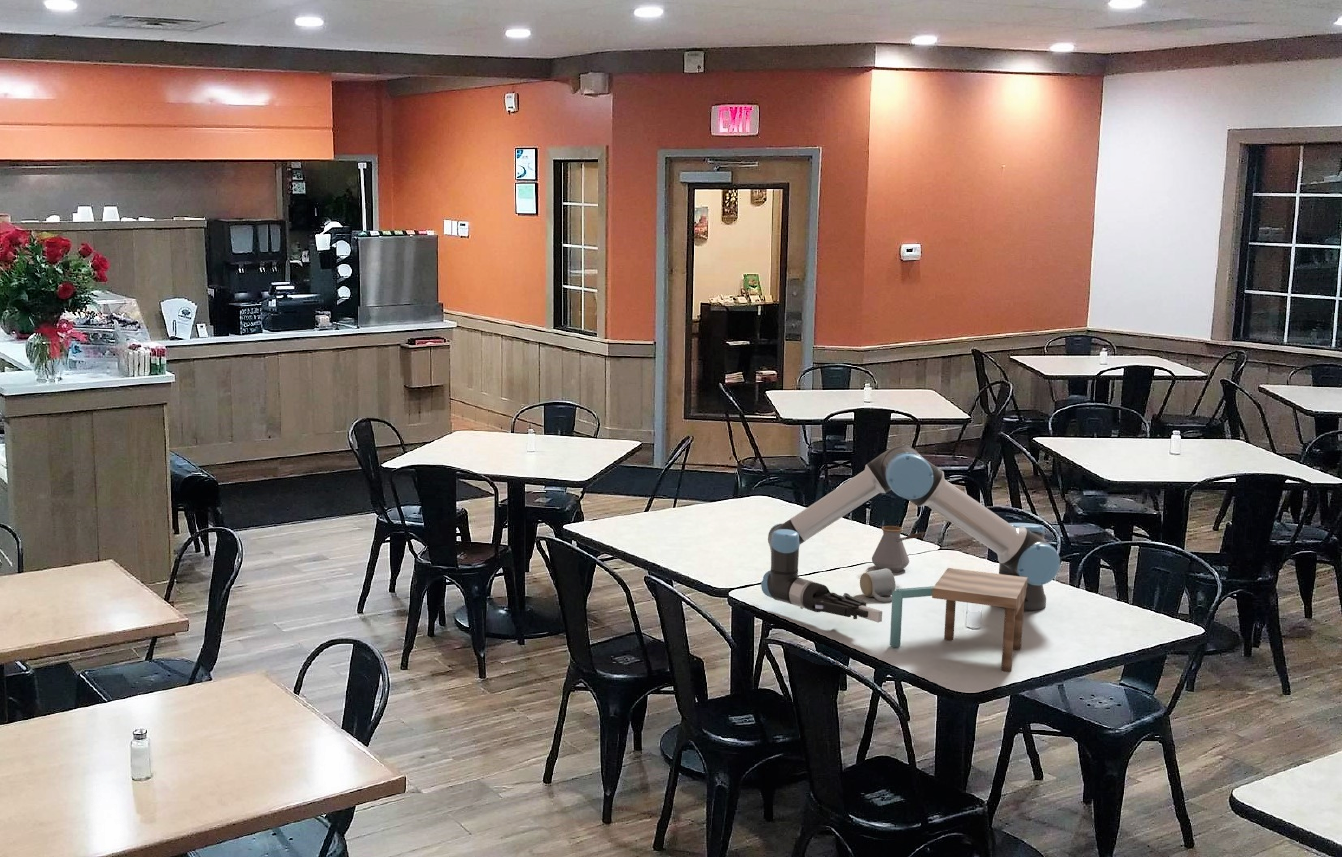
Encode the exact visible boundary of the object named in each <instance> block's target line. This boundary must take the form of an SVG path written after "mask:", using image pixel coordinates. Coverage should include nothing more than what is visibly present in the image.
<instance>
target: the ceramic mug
mask: <svg viewBox="0 0 1342 857" xmlns="http://www.w3.org/2000/svg"><path fill="white" fill-rule="evenodd" d="M895 579H896V578H895V576H894V573H893V572H891V570H889V569H887V568H885V569H880V570H879V569H877V570H870V571H866V572H864V573H862V574H861V576H860V579H859V586H860V590H861V592H862V594H863V595H864V596H865V597H868V598H875V599H876V600H877V601H878V602H882V603H889V602H892V591H895V590H896V580H895ZM885 596H886V597H885ZM887 596H888V597H887ZM889 596H890V597H889Z"/></svg>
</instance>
